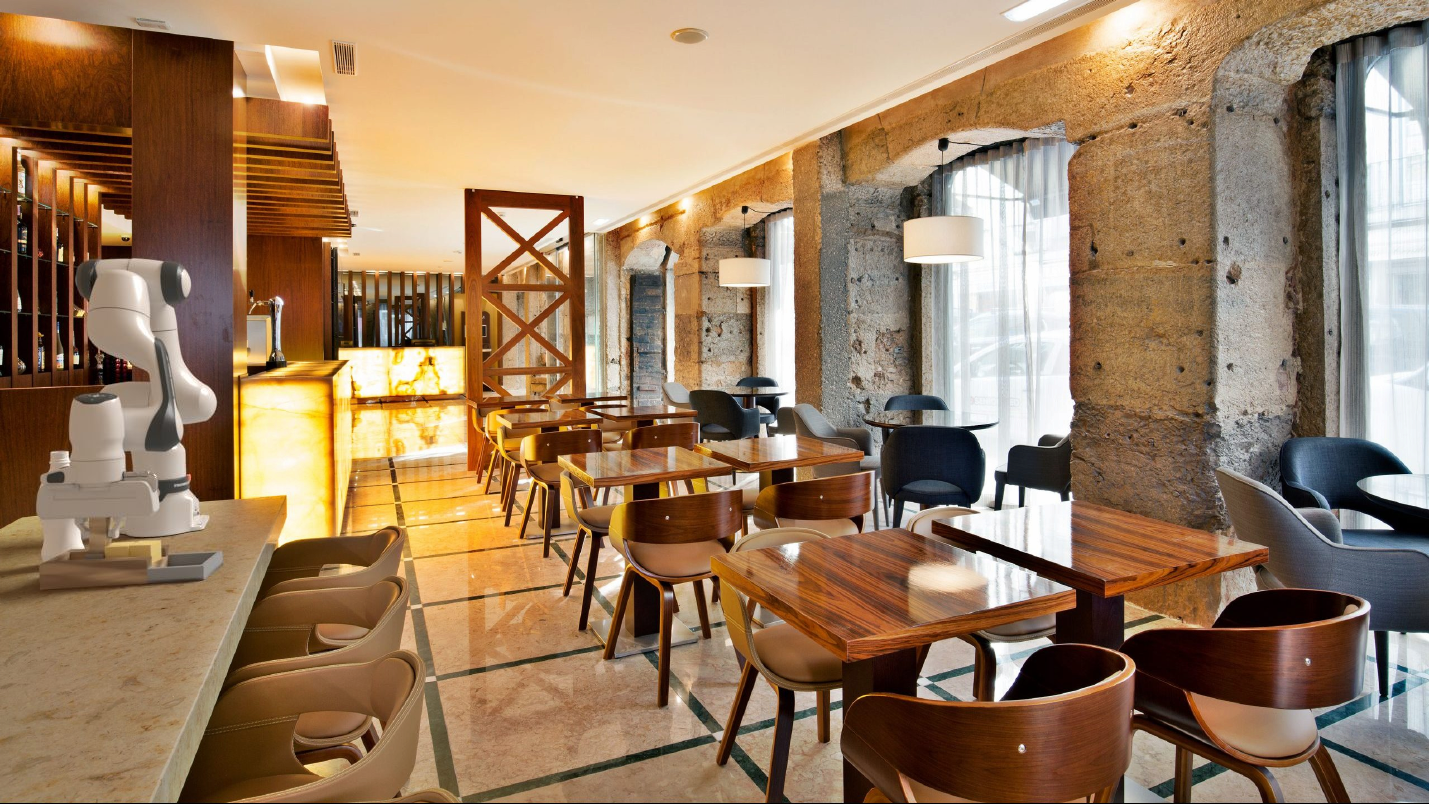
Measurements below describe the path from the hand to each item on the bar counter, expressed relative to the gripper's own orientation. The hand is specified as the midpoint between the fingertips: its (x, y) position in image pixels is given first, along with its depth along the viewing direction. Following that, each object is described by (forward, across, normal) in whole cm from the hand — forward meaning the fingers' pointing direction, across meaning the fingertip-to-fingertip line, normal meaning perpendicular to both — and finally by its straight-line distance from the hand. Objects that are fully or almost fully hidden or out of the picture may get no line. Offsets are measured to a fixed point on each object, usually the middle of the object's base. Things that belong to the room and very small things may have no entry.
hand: (100, 538), depth 156 cm
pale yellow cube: (+3, -8, 0) cm, 8 cm away
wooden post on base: (+5, 0, 0) cm, 5 cm away
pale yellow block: (+3, -3, 0) cm, 5 cm away
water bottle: (+9, +12, -13) cm, 20 cm away
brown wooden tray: (+8, -1, 0) cm, 8 cm away
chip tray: (+8, -15, 0) cm, 17 cm away
